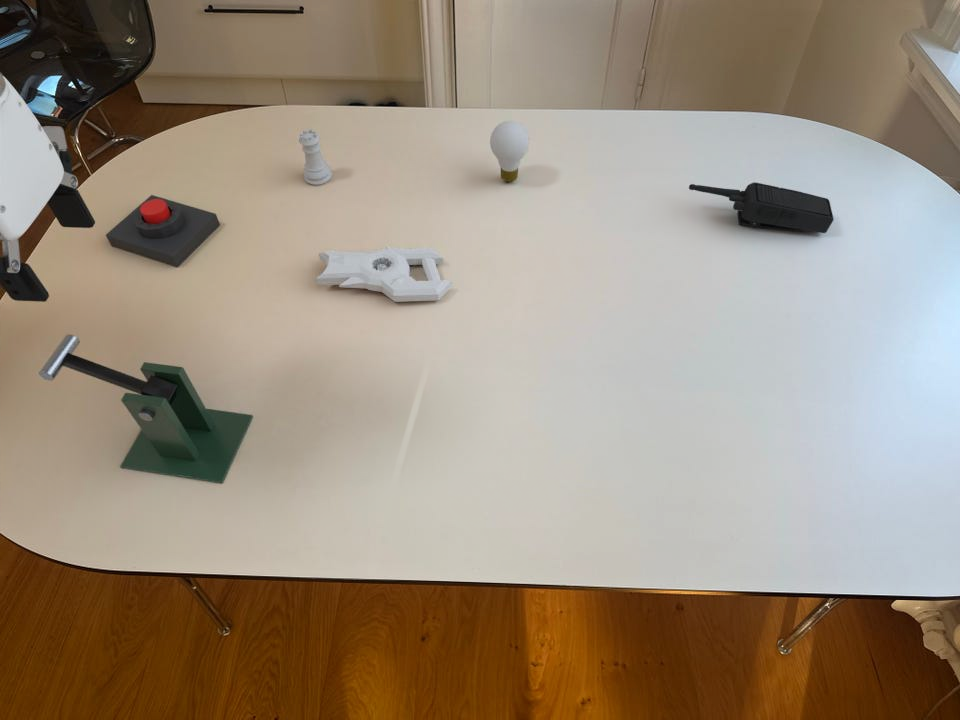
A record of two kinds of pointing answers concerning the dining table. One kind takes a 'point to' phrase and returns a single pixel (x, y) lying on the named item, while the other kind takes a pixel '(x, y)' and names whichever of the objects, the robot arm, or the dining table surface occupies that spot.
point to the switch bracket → (182, 431)
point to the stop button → (155, 211)
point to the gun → (386, 272)
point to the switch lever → (103, 372)
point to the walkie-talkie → (776, 207)
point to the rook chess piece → (314, 159)
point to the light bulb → (509, 147)
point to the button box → (164, 233)
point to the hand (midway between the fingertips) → (56, 260)
